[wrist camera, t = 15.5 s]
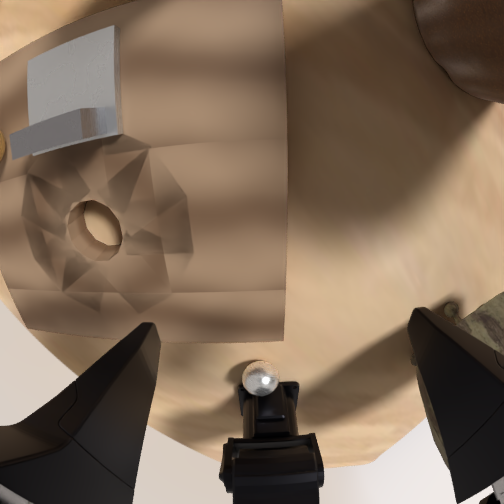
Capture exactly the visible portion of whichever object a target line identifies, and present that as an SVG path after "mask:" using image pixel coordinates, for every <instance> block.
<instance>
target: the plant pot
mask: <svg viewBox="0 0 504 504" xmlns="http://www.w3.org/2000/svg"><path fill="white" fill-rule="evenodd" d="M413 5H414V12H415V17H416V21H417V24H418V27H419V30H420V33H421V35H422V38H423V40H424V42H425V45H426V47H427V49H428V50H429V52H430V53H431V55H432V57H433V58H434V60H435V61H436V62H437V63H438V64H440V65H441V66H442V67H443V68H444V69H445V70H446V72H447V73H448V75H449V76H450V78H451V80H452V82H454V83H455V84H456V85H457V86H458V87H459V88H461V89H462V90H463V91H465V92H467V93H468V94H470V95H472V96H474V97H477V98H480V99H484V100H489V101H494V102H498V103H501V104H504V0H413Z"/></svg>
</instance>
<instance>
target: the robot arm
mask: <svg viewBox="0 0 504 504" xmlns="http://www.w3.org/2000/svg"><path fill="white" fill-rule="evenodd" d="M407 330H408V334H409V338H410V341H411V344H412V348H413V351H414V355H415V359H416V362H417V365H418V368H419V371H420V374H421V377H422V379H423V382H424V385H425V388H426V390H427V393H428V396H429V399H430V402H431V405H432V408H433V411H434V414H435V417H436V421H437V424H438V427H439V431H440V434H441V438H442V441H443V445H444V448H445V452H446V456H447V461H448V465H449V469H450V473H451V478H452V482H453V487H454V492H455V498H456V502H457V504H459V503H461V502H463V501H465V500H466V499H468V498H470V497H472V496H473V495H475V494H477V493H479V492H480V491H482V490H484V489H485V488H487V487H488V486H490V485H492V488H493V491H494V492H493V493H491V494H490V495H488V496H487V497H485V498H484V499H482V500H481V501H480V502H479V504H504V355H503V354H501V353H500V352H498V351H497V350H495V349H493V348H492V347H490V346H489V345H487V344H485V343H484V342H482V341H481V340H479V339H477V338H476V337H474V336H472V335H471V334H469V333H468V332H466V331H464V330H463V329H461V328H459V327H458V326H456V325H454V324H453V323H451V322H449V321H448V320H446V319H444V318H443V317H441V316H439V315H438V314H436V313H434V312H432V311H431V310H429V309H427V308H426V307H418V308H415V309H414V310H413V312H412V314H411V317H410V320H409V323H408V327H407ZM160 348H161V341H160V337H159V334H158V331H157V328H156V325H155V323H153V322H142V323H141V324H140V325H138V326H137V327H136V328H135V329H134V330H133V331H131V332H130V333H129V334H128V335H127V336H125V337H124V338H123V339H122V340H121V341H120V342H118V343H117V344H116V345H115V346H114V347H113V348H111V349H110V350H109V351H108V352H107V353H106V354H104V355H103V356H102V357H101V358H100V359H99V360H97V361H96V362H95V363H94V364H93V365H92V366H91V367H89V368H88V369H87V370H86V371H85V372H84V373H82V374H81V375H80V376H79V377H78V378H77V379H76V381H73V382H72V383H71V384H70V385H69V386H68V387H66V388H65V389H64V390H63V391H62V392H60V393H59V394H58V395H57V396H55V397H54V398H53V399H51V400H50V401H49V402H48V403H46V404H45V405H43V406H42V407H41V408H39V409H38V410H36V411H35V412H34V413H32V414H31V415H29V416H28V417H27V418H25V419H24V420H22V421H21V422H19V423H17V424H13V425H9V426H0V504H132V502H133V496H134V488H135V483H136V477H137V472H138V466H139V461H140V456H141V450H142V445H143V440H144V435H145V431H146V426H147V421H148V417H149V412H150V408H151V403H152V399H153V395H154V391H155V386H156V380H157V371H158V363H159V355H160ZM238 393H239V401H240V409H241V415H242V416H243V438H228V443H226V444H223V458H222V463H221V468H220V472H219V479H220V480H221V481H222V482H223V483H224V486H225V487H226V492H227V493H233V504H319V488H320V487H322V486H323V484H324V467H323V461H322V457H321V454H320V450H319V446H318V443H317V439H316V436H315V433H309V434H307V435H298V427H297V419H296V406H297V399H298V393H299V383H298V382H288V383H278V386H277V387H276V389H275V390H274V391H273V392H272V393H270V394H268V395H265V396H256V395H253V394H251V393H249V392H248V391H247V390H246V389H245V387H244V385H239V386H238Z"/></svg>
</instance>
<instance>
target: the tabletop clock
mask: <svg viewBox="0 0 504 504" xmlns="http://www.w3.org/2000/svg"><path fill="white" fill-rule="evenodd" d="M444 312H445V314H446V316H448V317H453V318H454V320H455V322H456V324H457V325H456V326H458V327H459V328H461V329H463V330H464V331H466V332H468V333H469V334H471V335H472V336H474V337H476V338H477V339H479V340H481V341H482V342H484V343H485V344H487V345H489V346H490V347H492V348H493V349H495V350H497V351H498V352H500V353H501V354H503V355H504V292H502V293H500V294H498V295H497V296H495V297H494V298H492V299H491V300H490V301H488V302H487V303H485V304H484V305H483V306H481V307H480V308H478V309H477V310H476V311H474V312H473V313H471V314H470V315H468V316H467V317H466V318H464V319H463V320H461V318H460V317H459V316H458V315H457V313H458V306H457V304H456V303H454V302H449V303H448V304H446V306H445V309H444ZM411 363H412V365H414V366H417V380H418V385H419V390H420V394H421V397H422V401H423V404H424V408H425V412H426V416H427V419H428V422H429V425H430V429H431V432H432V436H433V439H434V442H435V444H436V446H437V448H438V450H439V452H440V454H441V456H442V458H443V460H444V462H445V464H446V466H447V467H448V469H449V465H448V461H447V456H446V452H445V448H444V445H443V441H442V438H441V434H440V431H439V427H438V424H437V421H436V417H435V414H434V411H433V408H432V405H431V402H430V399H429V396H428V393H427V390H426V388H425V385H424V382H423V379H422V377H421V374H420V371H419V368H418V365H417V362H416V359H415V355H414V354H413V355H412V357H411ZM449 470H450V469H449Z"/></svg>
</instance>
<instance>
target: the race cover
mask: <svg viewBox="0 0 504 504" xmlns="http://www.w3.org/2000/svg"><path fill="white" fill-rule="evenodd" d="M119 38H120V28H119V27H117V26H115V25H113V26H110V27H107V28H103V29H100V30H98V31H95V32H92V33H89V34H86V35H84V36H81V37H79V38H76V39H74V40H71V41H69V42H66V43H64V44H62V45H59V46H57V47H55V48H53V49H51V50H49V51H47V52H44V53H42V54H40V55H38V56H36V57H35V58H33V59H31V60H29V61H28V67H27V94H28V115H29V126H28V127H26V128H24V129H21V130H19V131H16V132H14V133H12V134H10V135H9V137H10V146H11V153H12V160H15V159H18V158H21V157H24V156H27V155H29V154H33V156H35V155H38V154H42V153H45V152H48V151H52V150H55V149H59V148H62V147H66V146H70V145H74V144H78V143H82V142H86V141H90V140H94V139H99V138H104V137H108V136H113V135H118V134H123V122H122V110H121V93H120V65H119Z"/></svg>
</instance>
